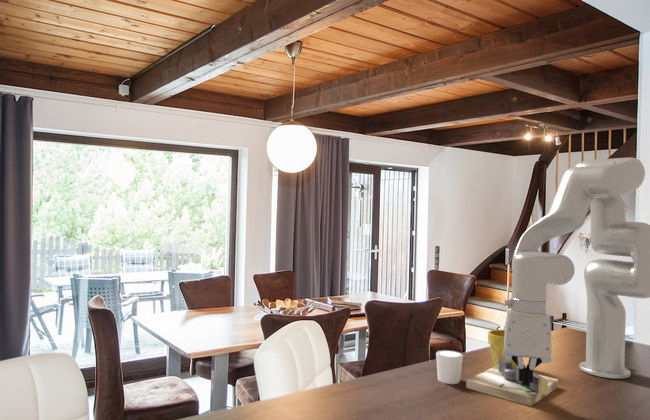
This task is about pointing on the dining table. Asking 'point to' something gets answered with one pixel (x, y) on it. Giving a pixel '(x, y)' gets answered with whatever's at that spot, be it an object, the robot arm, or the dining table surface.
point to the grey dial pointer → (513, 374)
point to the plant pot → (498, 346)
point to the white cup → (449, 366)
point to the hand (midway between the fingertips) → (525, 384)
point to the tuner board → (507, 387)
